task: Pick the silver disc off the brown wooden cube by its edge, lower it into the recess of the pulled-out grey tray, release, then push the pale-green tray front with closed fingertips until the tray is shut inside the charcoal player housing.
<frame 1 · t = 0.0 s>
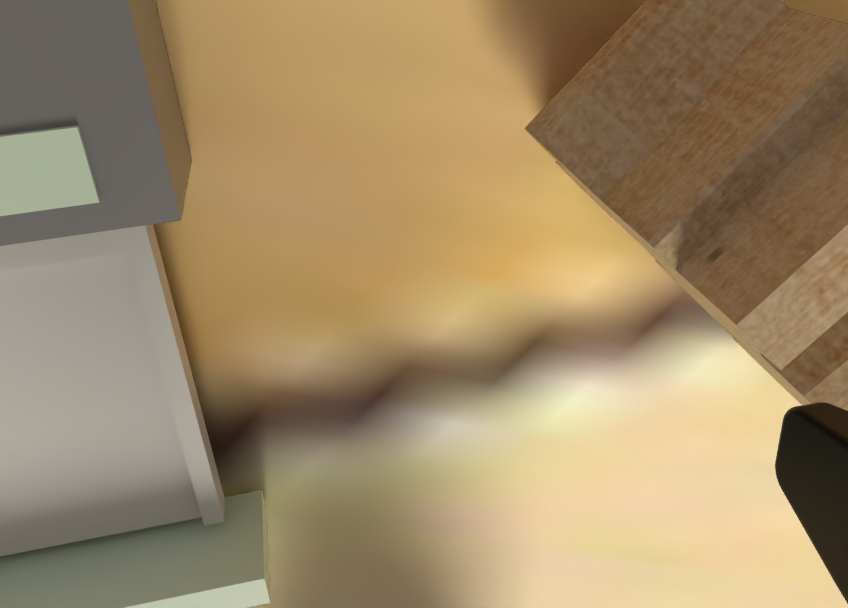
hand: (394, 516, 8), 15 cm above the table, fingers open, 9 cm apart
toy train: (731, 210, 25), on the table
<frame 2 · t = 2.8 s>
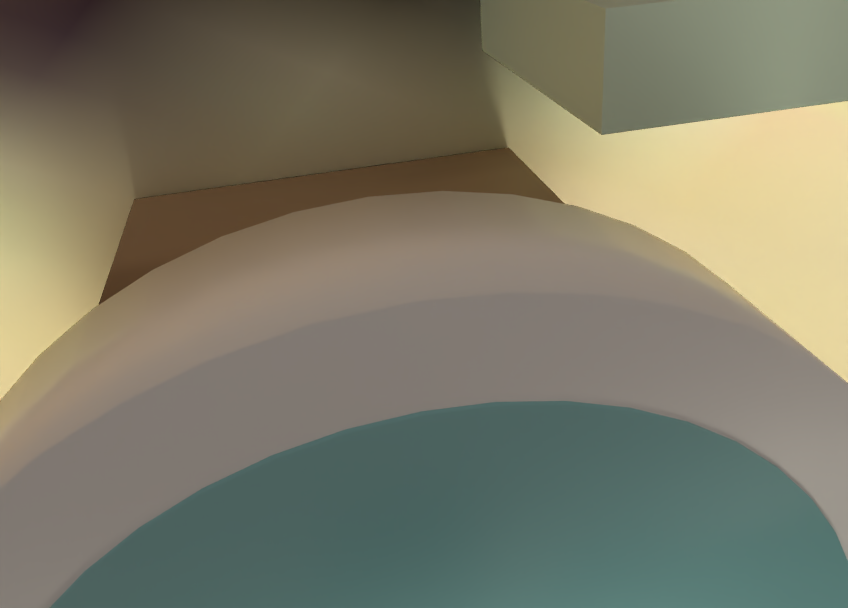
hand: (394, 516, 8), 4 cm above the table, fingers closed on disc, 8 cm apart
brown wooden cube: (350, 333, 12), on the table
disc: (414, 597, 7), point 5 cm above the table, touching gripper, brown wooden cube
when the fingers open (3 cm above the table, at t = 7.6 s): disc drops 2 cm, resting on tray.
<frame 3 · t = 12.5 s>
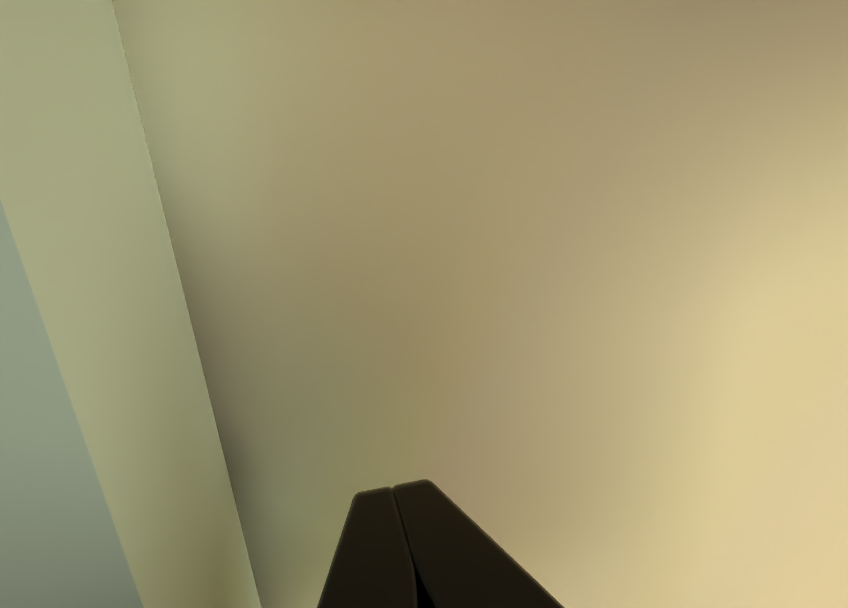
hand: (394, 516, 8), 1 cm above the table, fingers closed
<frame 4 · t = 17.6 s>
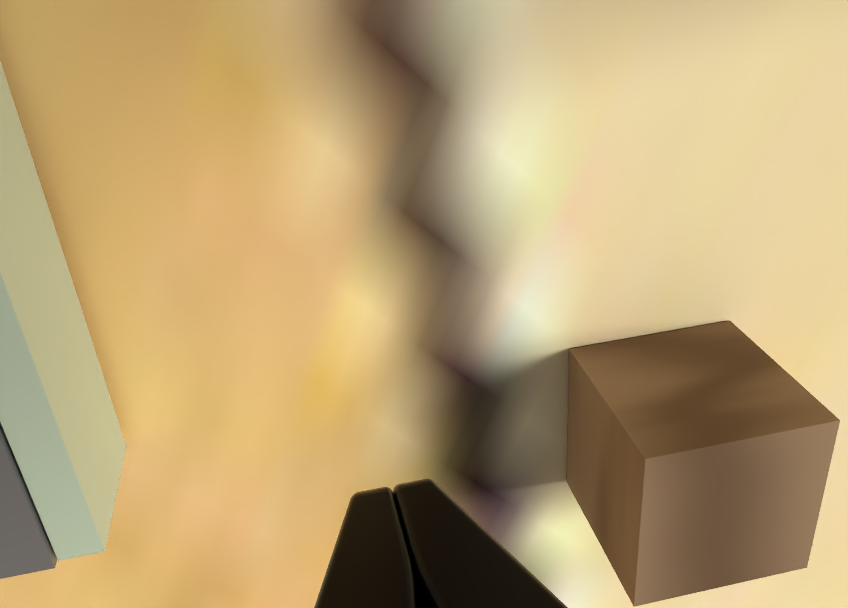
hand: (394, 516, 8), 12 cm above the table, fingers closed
brown wooden cube: (645, 404, 24), on the table
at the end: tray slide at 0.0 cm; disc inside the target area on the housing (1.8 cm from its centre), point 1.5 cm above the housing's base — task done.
